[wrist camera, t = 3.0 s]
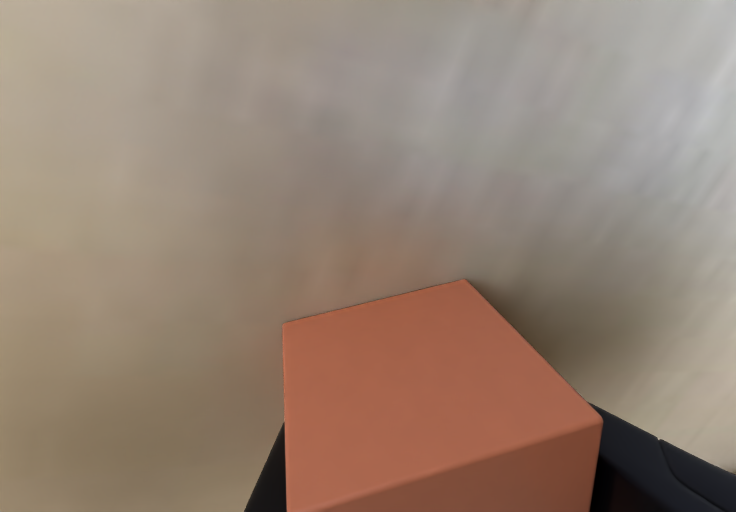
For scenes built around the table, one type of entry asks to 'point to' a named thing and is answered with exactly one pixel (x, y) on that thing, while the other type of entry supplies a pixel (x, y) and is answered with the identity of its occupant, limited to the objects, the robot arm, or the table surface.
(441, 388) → the block
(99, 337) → the table surface
